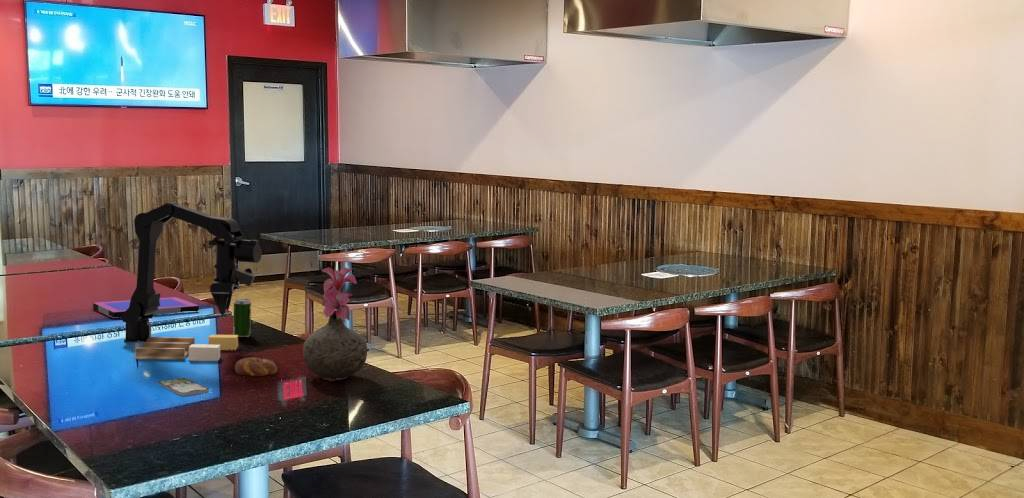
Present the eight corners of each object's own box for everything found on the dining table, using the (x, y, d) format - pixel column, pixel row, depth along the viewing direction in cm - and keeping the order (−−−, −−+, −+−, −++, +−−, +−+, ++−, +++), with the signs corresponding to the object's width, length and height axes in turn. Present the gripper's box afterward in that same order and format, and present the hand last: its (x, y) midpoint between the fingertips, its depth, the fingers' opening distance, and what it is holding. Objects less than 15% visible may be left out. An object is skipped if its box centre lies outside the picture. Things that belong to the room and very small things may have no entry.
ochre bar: (208, 350, 264) (208, 337, 263) (210, 347, 267) (210, 334, 267) (236, 350, 265) (236, 337, 265) (237, 347, 269) (238, 334, 268)
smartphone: (184, 377, 229) (210, 388, 219) (184, 381, 229) (210, 393, 219) (155, 381, 224) (181, 393, 214) (155, 386, 224) (181, 397, 214)
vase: (311, 388, 227) (314, 272, 224) (295, 372, 242) (297, 264, 239) (373, 383, 235) (377, 271, 232) (354, 368, 250) (357, 263, 247)
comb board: (135, 358, 248) (135, 348, 248) (149, 346, 264) (149, 336, 263) (183, 359, 250) (183, 349, 250) (194, 347, 266) (194, 337, 265)
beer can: (235, 338, 281) (236, 301, 279) (231, 335, 285) (231, 298, 284) (252, 337, 284) (253, 300, 282) (247, 334, 288) (248, 298, 287)
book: (93, 302, 316) (175, 297, 337) (93, 311, 316) (175, 304, 337) (113, 312, 301) (198, 305, 321) (113, 320, 301) (198, 313, 322)
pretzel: (286, 371, 244) (286, 358, 244) (263, 380, 234) (263, 366, 233) (249, 365, 248) (250, 352, 248) (225, 373, 238) (225, 360, 237)
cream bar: (188, 361, 249) (188, 347, 249) (191, 357, 253) (191, 344, 253) (217, 361, 251) (218, 347, 250) (220, 358, 255) (220, 344, 254)
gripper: (250, 265, 256) (248, 318, 258) (256, 257, 275) (255, 307, 276) (210, 264, 254) (209, 317, 256) (219, 256, 273) (218, 306, 274)
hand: (224, 311), depth 266 cm, fingers open, 9 cm apart
